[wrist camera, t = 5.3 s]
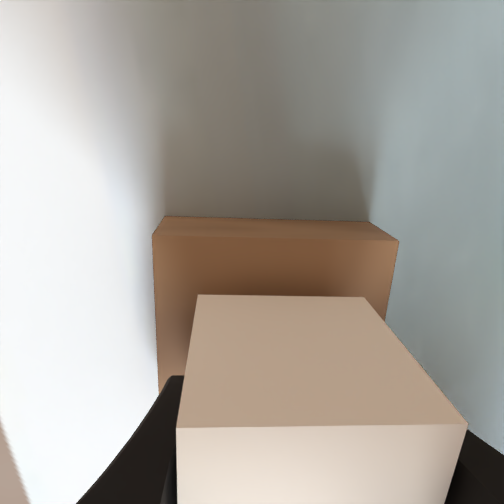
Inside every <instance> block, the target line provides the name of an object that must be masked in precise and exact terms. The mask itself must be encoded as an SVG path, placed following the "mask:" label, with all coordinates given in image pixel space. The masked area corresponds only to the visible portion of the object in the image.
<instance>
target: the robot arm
mask: <svg viewBox="0 0 504 504" xmlns="http://www.w3.org/2000/svg"><path fill="white" fill-rule="evenodd" d="M184 376H185V375H172V376H170V377H169V378H168V379H167V381H166V383H165V385H164V387H163V389H162V391H161V392H160V394H159V396H158V397H157V399H156V401H155V402H154V404H153V405H152V407H151V409H150V410H149V412H148V413H147V415H146V416H145V418H144V419H143V421H142V422H141V423H140V425H139V426H138V428H137V429H136V431H135V432H134V434H133V435H132V436H131V438H130V439H129V440H128V442H127V443H126V444H125V446H124V447H123V448H122V449H121V451H120V452H119V453H118V455H117V456H116V457H115V458H114V460H113V461H112V462H111V464H110V465H109V466H108V467H107V469H106V470H105V471H104V472H103V473H102V475H101V476H100V477H99V478H98V479H97V481H96V482H95V483H94V484H93V485H92V486H91V487H90V489H89V490H88V491H87V492H86V493H85V494H84V495H83V496H82V498H81V499H80V500H79V501H78V502H77V503H76V504H177V455H176V425H177V419H178V413H179V407H180V400H181V394H182V388H183V382H184ZM444 504H504V455H503V454H501V453H500V452H498V451H497V450H495V449H494V448H493V447H491V446H490V445H488V444H487V443H485V442H484V441H483V440H481V439H480V438H478V437H477V436H476V435H474V434H473V433H472V432H470V431H469V430H466V434H465V437H464V440H463V444H462V447H461V450H460V453H459V457H458V460H457V463H456V467H455V470H454V473H453V476H452V480H451V483H450V486H449V490H448V493H447V496H446V500H445V503H444Z"/></svg>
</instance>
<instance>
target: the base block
mask: <svg viewBox="0 0 504 504" xmlns="http://www.w3.org/2000/svg"><path fill="white" fill-rule="evenodd" d="M398 245H399V241H398V240H397V239H395V238H394V237H392V236H391V235H389V234H388V233H386V232H384V231H383V230H381V229H380V228H378V227H377V226H375V225H373V224H372V223H370V222H356V221H321V220H286V219H250V218H215V217H180V216H165V217H164V218H163V220H162V221H161V223H160V224H159V226H158V227H157V228H156V230H155V231H154V233H153V234H152V247H153V270H154V294H155V317H156V340H157V363H158V386H159V394H160V392H161V391H162V389H163V387H164V385H165V383H166V381H167V379H168V378H169V377H170V376H172V375H185V370H186V364H187V358H188V352H189V346H190V339H191V333H192V327H193V321H194V315H195V309H196V303H197V297H198V295H260V296H322V297H364V298H365V299H366V300H367V301H368V303H369V304H370V305H371V306H372V307H373V309H374V310H375V311H376V312H377V314H378V315H379V316H380V317H381V318H382V320H383V321H384V322H385V316H386V311H387V305H388V300H389V294H390V289H391V283H392V278H393V272H394V267H395V261H396V256H397V251H398Z"/></svg>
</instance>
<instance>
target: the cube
mask: <svg viewBox="0 0 504 504" xmlns="http://www.w3.org/2000/svg"><path fill="white" fill-rule="evenodd" d="M467 427H468V423H467V422H466V420H465V419H464V418H463V417H462V416H461V414H460V413H459V412H458V411H457V409H456V408H455V407H454V406H453V405H452V403H451V402H450V401H449V400H448V399H447V397H446V396H445V395H444V394H443V392H442V391H441V390H440V389H439V388H438V386H437V385H436V384H435V383H434V382H433V380H432V379H431V378H430V377H429V375H428V374H427V373H426V372H425V371H424V369H423V368H422V367H421V366H420V365H419V363H418V362H417V361H416V360H415V358H414V357H413V356H412V355H411V354H410V352H409V351H408V350H407V349H406V348H405V346H404V345H403V344H402V343H401V341H400V340H399V339H398V338H397V337H396V335H395V334H394V333H393V332H392V331H391V329H390V328H389V327H388V326H387V324H386V323H385V322H384V321H383V320H382V318H381V317H380V316H379V315H378V314H377V312H376V311H375V310H374V309H373V307H372V306H371V305H370V304H369V303H368V301H367V300H366V299H365V298H364V297H322V296H260V295H198V297H197V303H196V309H195V315H194V321H193V327H192V333H191V339H190V346H189V352H188V358H187V364H186V370H185V376H184V382H183V388H182V394H181V400H180V407H179V413H178V419H177V425H176V455H177V504H444V503H445V500H446V496H447V493H448V490H449V486H450V483H451V480H452V476H453V473H454V470H455V467H456V463H457V460H458V457H459V453H460V450H461V447H462V444H463V440H464V437H465V434H466V430H467Z"/></svg>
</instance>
